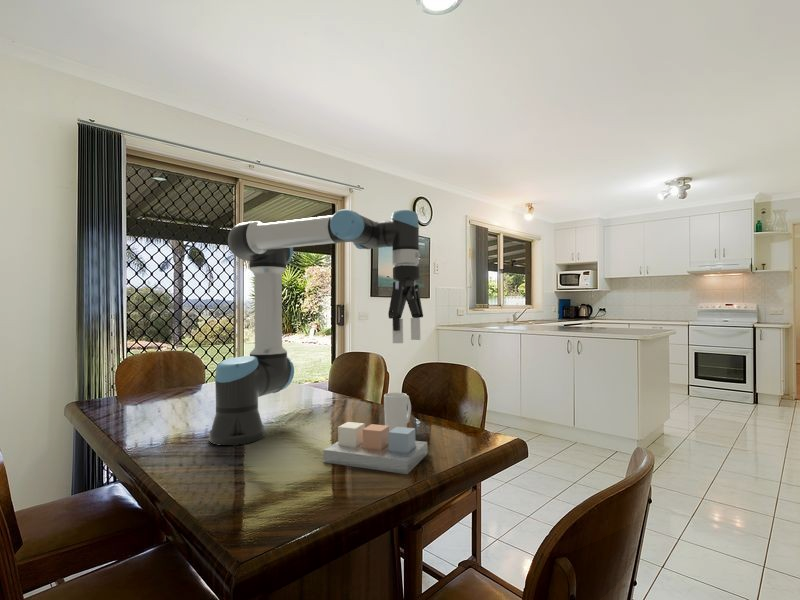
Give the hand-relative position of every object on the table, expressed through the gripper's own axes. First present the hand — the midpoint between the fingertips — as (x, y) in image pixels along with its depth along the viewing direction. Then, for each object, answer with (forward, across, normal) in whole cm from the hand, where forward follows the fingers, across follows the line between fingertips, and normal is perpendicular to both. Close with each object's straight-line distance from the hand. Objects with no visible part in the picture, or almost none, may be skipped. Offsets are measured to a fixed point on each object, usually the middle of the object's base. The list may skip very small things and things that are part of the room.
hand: (407, 341), depth 114 cm
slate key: (+26, -14, -4) cm, 29 cm away
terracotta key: (+26, -14, +3) cm, 29 cm away
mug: (+28, +6, +5) cm, 29 cm away
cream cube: (+26, -14, +10) cm, 31 cm away
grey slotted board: (+28, -14, +3) cm, 32 cm away
